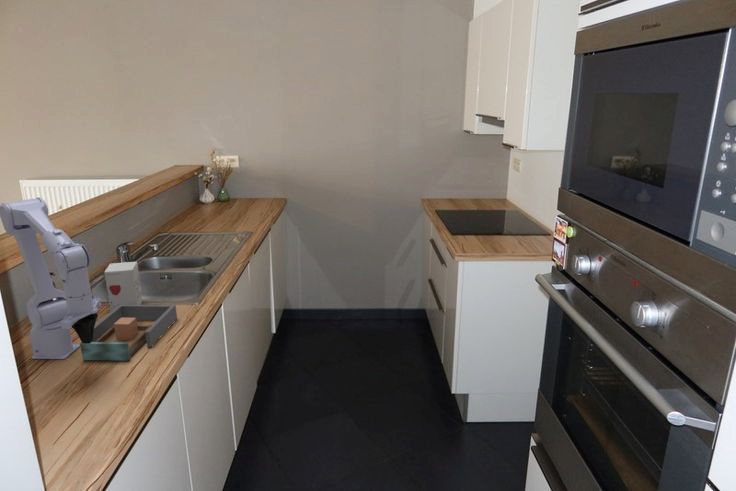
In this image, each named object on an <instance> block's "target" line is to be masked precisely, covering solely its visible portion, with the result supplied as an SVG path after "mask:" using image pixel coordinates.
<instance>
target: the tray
mask: <svg viewBox="0 0 736 491" xmlns="http://www.w3.org/2000/svg"><path fill="white" fill-rule="evenodd" d="M152 325H153V324H137V327H138V334H137V335H136V336H135V337H134V338H133V339H132V340H116V335H115V329H114V326H112V327H111V328H110V329H109V330H108V331H107V332H105V333H104V334H103V335H102V336H101V337H100V338H99V339H97V340H96V341H95V342H91V343H89V344H84V343H82V342H80V343H79V344H80V347H79V348H80V352H81V358H82V360H83V361H124V362H127V361H130V360H131V359H132V358H131V357H132V356H133V355H134V354H135V353H136V352H137V351H138V350H139V349H140V348H141V347H142V346H143V344H145V343H146V335H145V332H146V331H147V330H148V329H149V328H150V327H151V326H152Z"/></svg>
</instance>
